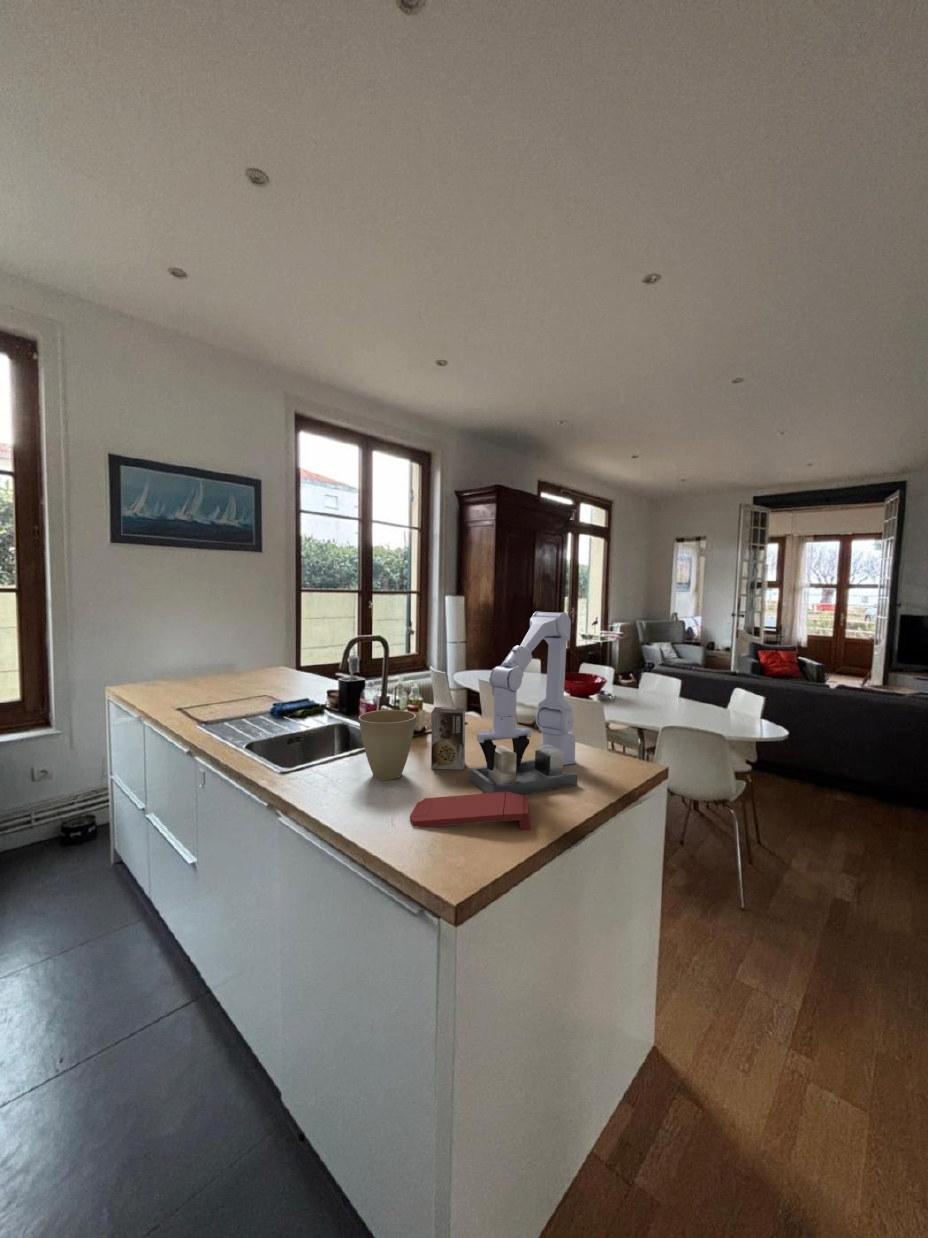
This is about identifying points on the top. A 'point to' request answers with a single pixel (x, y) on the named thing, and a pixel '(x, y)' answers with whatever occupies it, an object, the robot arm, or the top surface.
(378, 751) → the plant pot
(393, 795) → the top surface
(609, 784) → the top surface
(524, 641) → the robot arm
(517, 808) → the red bent plate
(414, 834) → the top surface
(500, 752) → the finger block
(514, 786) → the tray
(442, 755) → the food box
